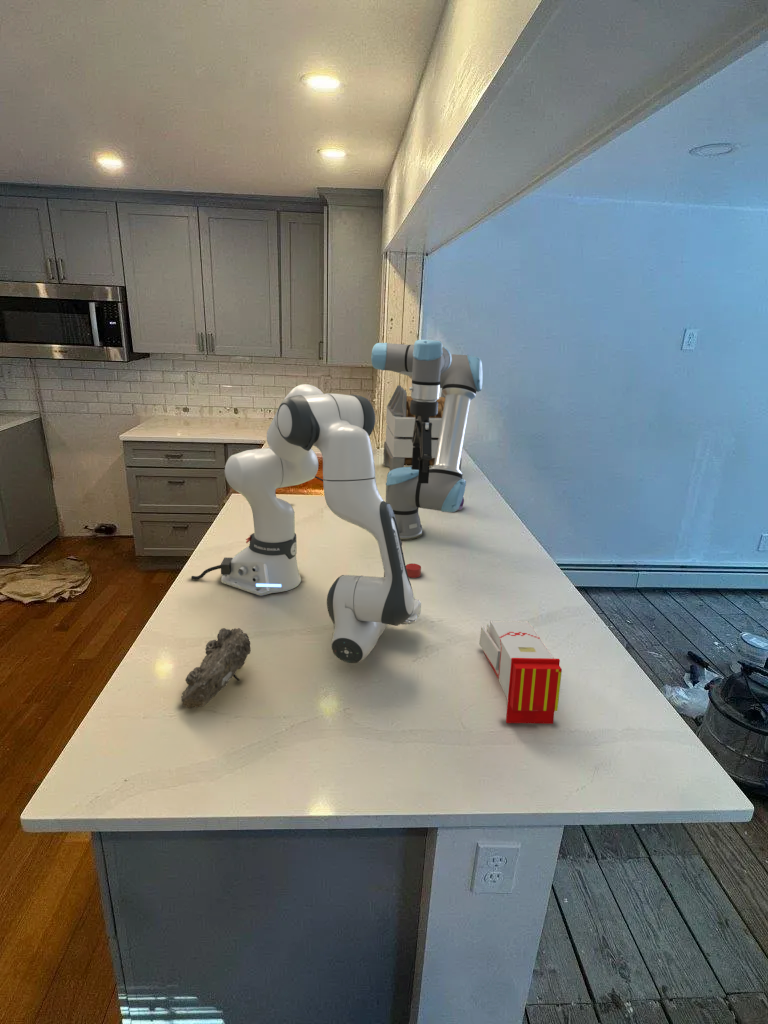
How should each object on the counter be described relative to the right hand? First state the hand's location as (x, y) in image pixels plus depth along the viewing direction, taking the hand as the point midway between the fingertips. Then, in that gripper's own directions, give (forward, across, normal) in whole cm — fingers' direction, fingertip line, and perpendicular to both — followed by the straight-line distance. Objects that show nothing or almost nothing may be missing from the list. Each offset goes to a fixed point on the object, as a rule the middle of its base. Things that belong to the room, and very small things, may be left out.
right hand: (419, 476), depth 159 cm
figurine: (+31, -60, +24) cm, 71 cm away
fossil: (+31, +50, -47) cm, 75 cm away
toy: (+31, +52, +15) cm, 62 cm away
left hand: (+24, +23, -10) cm, 35 cm away
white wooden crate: (+31, -110, +18) cm, 116 cm away
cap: (+28, 0, 0) cm, 29 cm away
